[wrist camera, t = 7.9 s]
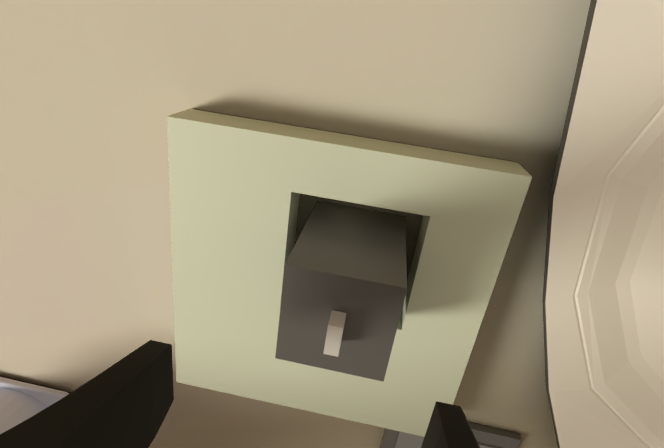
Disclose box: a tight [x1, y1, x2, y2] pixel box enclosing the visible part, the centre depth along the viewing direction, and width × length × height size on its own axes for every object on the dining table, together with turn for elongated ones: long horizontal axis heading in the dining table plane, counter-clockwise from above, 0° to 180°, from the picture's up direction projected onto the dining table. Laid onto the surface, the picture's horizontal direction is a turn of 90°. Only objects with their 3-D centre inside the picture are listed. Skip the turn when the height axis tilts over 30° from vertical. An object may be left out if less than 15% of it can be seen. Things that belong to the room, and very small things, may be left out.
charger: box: [275, 200, 407, 382], centre depth 17 cm, size 4×4×7 cm
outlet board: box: [167, 109, 532, 437], centre depth 19 cm, size 14×14×2 cm
